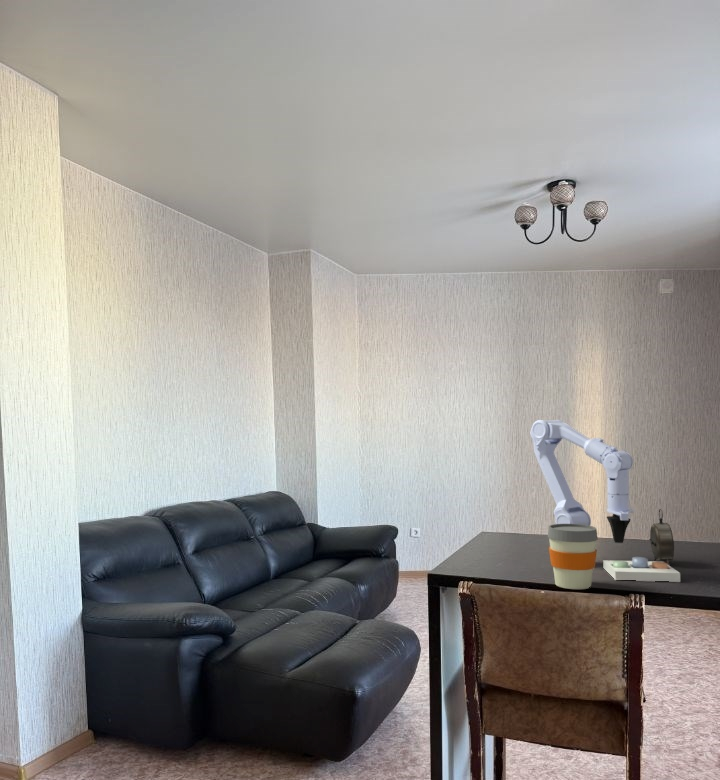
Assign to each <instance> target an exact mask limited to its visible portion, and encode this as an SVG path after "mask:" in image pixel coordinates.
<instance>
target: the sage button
mask: <svg viewBox="0 0 720 780" xmlns="http://www.w3.org/2000/svg"><path fill="white" fill-rule="evenodd" d="M612 561H613V567H614V568H628V562H625V561H626V560H612Z"/></svg>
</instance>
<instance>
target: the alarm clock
mask: <svg viewBox="0 0 720 780" xmlns="http://www.w3.org/2000/svg"><path fill="white" fill-rule="evenodd" d="M658 509H659V510H658V518H659V519H658V520H659V522H658V523H657V522H655V523H653V524H652V525H651V527H650V534H649V537H650V538H649V539H648V540H649V541H650V546H651V547H650V548H651V551H652V554H653V557H654V560H653V561H658V562H664V561H666V562H665V563H667V564H668V565H669V566H670V561H673V559H674V557H675V542H674V534H673V531H672V528H671V525H670V524H669V523H668V522H664V521H663V517H664V514H663V513H664V512H663V509H662V508H658ZM660 513H661V515H660ZM670 567H671V566H670Z"/></svg>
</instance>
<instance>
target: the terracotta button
mask: <svg viewBox="0 0 720 780" xmlns="http://www.w3.org/2000/svg"><path fill="white" fill-rule="evenodd" d="M652 568H653V569H668V564H667V562H665V563H664V561H657V562H652Z"/></svg>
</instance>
